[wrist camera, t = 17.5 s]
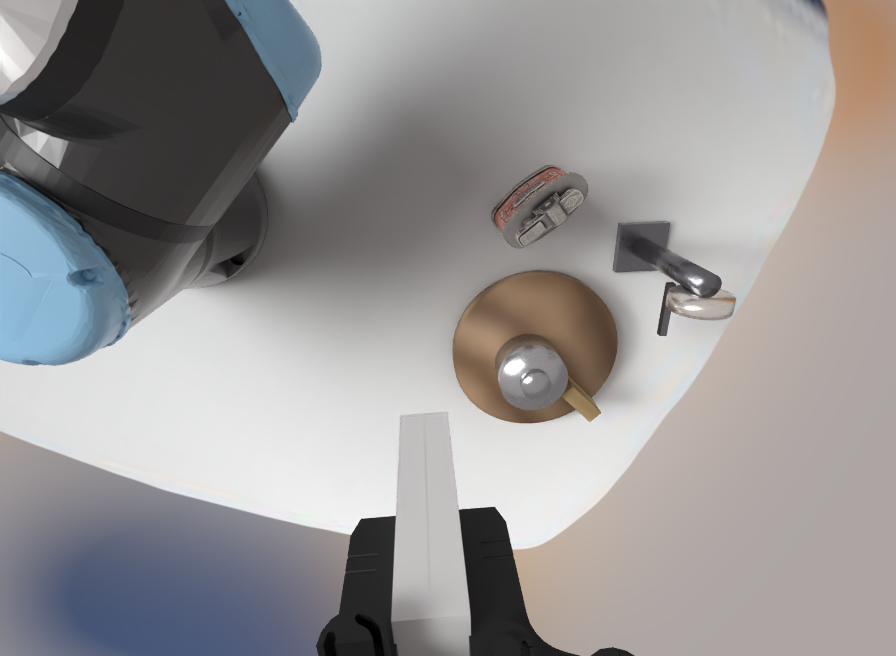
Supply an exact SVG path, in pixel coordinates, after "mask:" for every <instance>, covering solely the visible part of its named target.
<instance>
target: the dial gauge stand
mask: <svg viewBox="0 0 896 656" xmlns="http://www.w3.org/2000/svg"><path fill="white" fill-rule="evenodd" d="M669 226H670V223H669V222H667V221H658V222H636V223H619V224H618V232H617V240H616V248H615V256H614V264H613V271H615V272H632V271H653V270H659V271H661V272H662V273H664V274H665V275H667V276H668V277H670V278H672V279H673V280H675V281H676V282H678V283H680V284H681V285H678V286H676V284H675V283H673V282H666V285H665V291H664V296H663V302H662V308H661V313H660V319H659V325H658V330H657V334H658V335H659V336H666V335H667V330H668V325H669V319H670V314H671V311H672V312H674V313H676V314H679V315H681V316H685V317H689V318H694V319H701V320H721V319H726V318H729V317H731V316H732V314H733V310H734V306H735V302H736V297H735V296H734V295H733V294H731V293H729V292H727V291H725V290H722V289H720V288H721V284H722V282H721V279H720V277H719V276H717V275H715V274H713V273H711V272H709V271H708V270H706V269H704V268H702V267H700V266H698V265H696V264H694V263H692V262H690V261H688V260H686V259H685V258H683V257H681V256H679V255H677V254H675V253H673V252H671V251H669V250H667V249H666V243H667V238H668V232H669Z"/></svg>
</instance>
